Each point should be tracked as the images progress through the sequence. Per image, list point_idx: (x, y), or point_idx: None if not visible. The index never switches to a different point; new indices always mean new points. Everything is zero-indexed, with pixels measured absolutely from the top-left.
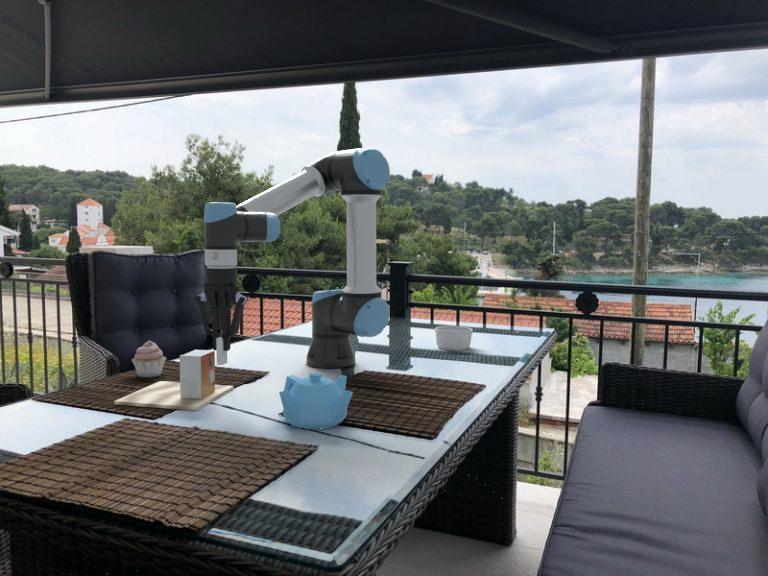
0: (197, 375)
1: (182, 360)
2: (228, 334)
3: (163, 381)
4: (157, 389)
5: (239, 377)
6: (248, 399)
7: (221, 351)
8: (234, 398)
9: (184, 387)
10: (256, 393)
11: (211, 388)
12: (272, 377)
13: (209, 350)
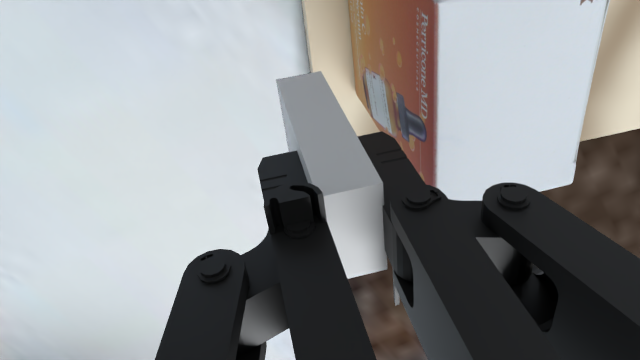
0: None
1: None
2: (267, 262)
3: (633, 126)
4: (622, 10)
5: (389, 306)
6: (155, 87)
7: (299, 125)
8: (230, 73)
9: None
10: (191, 179)
11: (358, 66)
12: (278, 353)
13: None
